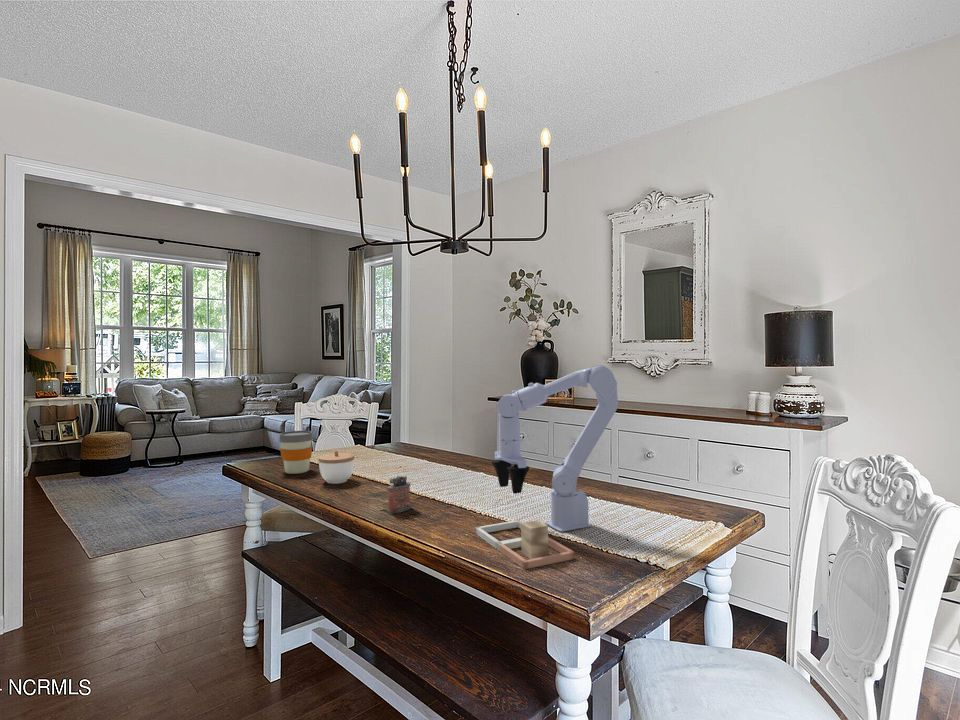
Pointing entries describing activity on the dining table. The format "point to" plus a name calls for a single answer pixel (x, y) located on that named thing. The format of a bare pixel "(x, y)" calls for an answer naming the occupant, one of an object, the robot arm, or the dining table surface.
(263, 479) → the dining table surface
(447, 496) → the dining table surface
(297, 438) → the reusable coffee cup
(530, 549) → the maple block
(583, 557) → the dining table surface
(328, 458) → the lidded bowl
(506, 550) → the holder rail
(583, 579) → the dining table surface
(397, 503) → the lighter
